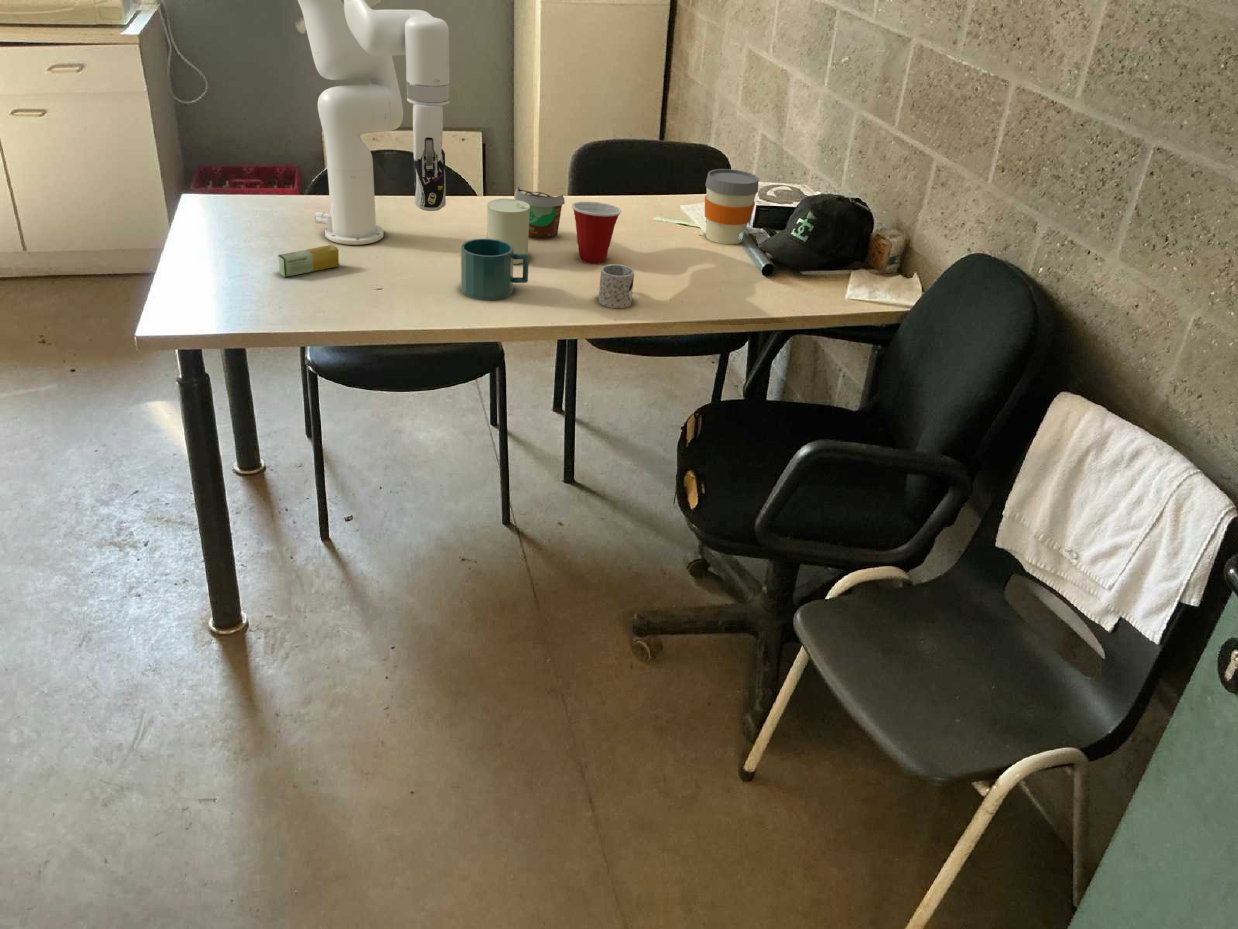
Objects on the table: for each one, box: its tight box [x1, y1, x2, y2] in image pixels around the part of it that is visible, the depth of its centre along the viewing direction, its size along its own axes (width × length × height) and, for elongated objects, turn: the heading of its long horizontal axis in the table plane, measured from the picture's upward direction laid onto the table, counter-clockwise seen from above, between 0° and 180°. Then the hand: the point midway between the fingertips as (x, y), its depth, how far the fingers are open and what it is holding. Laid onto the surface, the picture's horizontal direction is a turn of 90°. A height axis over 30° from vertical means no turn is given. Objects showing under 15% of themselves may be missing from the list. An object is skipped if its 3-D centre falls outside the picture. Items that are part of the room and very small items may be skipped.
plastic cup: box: [571, 201, 622, 265], centre depth 212 cm, size 11×11×12 cm
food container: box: [513, 185, 566, 240], centre depth 223 cm, size 12×6×10 cm, turn 68°
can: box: [486, 198, 530, 265], centre depth 209 cm, size 9×9×12 cm
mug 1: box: [460, 238, 530, 301], centre depth 193 cm, size 13×10×9 cm
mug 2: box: [598, 263, 635, 309], centre depth 195 cm, size 10×7×7 cm, turn 17°
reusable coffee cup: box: [704, 168, 760, 245], centre depth 232 cm, size 13×13×15 cm
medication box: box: [277, 244, 340, 279], centre depth 195 cm, size 12×3×4 cm, turn 131°
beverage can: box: [412, 141, 447, 212], centre depth 181 cm, size 6×6×12 cm
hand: (430, 193), depth 183 cm, fingers closed on beverage can, 3 cm apart
